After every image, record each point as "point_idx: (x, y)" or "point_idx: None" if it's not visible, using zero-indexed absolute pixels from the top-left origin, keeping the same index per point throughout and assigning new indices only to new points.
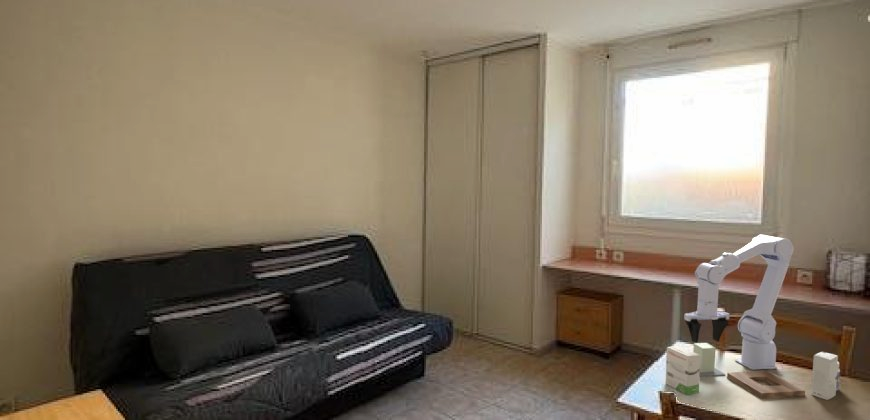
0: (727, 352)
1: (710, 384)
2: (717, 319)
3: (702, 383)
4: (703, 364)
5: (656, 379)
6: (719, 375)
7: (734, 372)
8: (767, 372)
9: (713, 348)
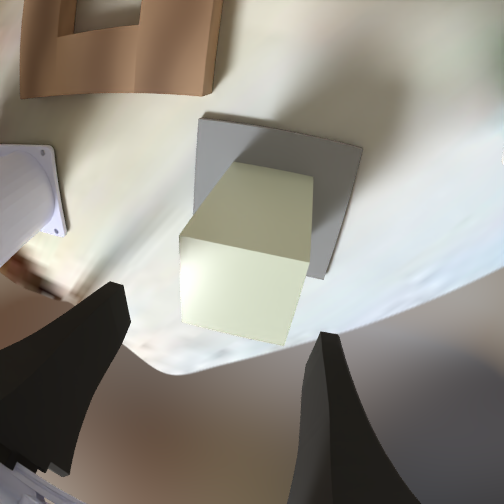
0: (63, 287)
1: (382, 56)
2: (26, 460)
3: (414, 84)
4: (300, 194)
5: None
6: (235, 122)
7: (159, 92)
8: (28, 80)
9: (200, 237)
